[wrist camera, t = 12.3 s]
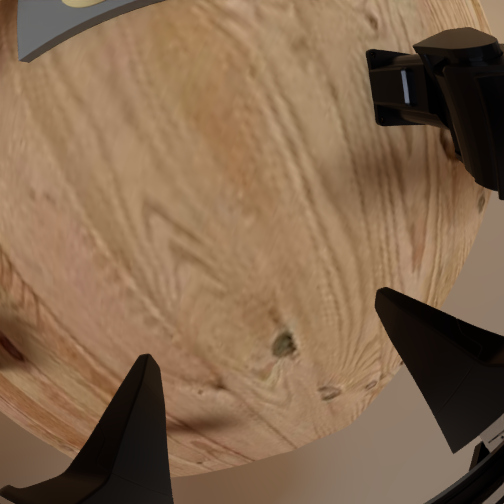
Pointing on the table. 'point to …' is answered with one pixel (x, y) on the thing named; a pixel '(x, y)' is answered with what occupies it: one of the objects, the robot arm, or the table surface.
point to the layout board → (63, 21)
